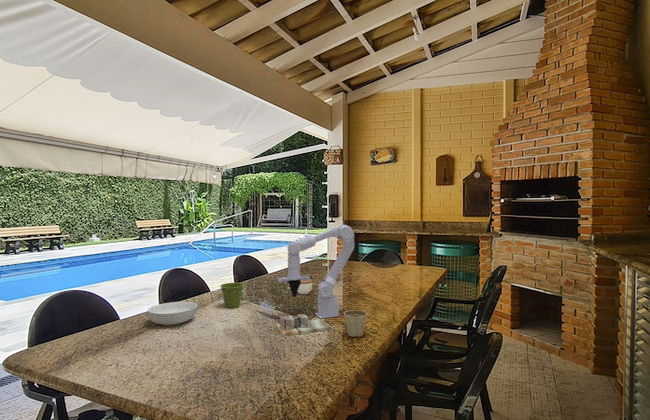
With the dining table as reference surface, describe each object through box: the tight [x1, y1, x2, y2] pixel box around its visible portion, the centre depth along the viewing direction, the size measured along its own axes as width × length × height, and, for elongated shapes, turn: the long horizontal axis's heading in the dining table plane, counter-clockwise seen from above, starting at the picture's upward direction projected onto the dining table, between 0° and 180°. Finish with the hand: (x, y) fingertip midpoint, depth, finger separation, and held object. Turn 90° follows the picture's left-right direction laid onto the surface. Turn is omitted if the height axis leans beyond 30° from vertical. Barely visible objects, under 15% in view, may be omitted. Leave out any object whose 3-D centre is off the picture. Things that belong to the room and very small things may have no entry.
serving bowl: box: [147, 301, 198, 326], centre depth 170 cm, size 21×21×7 cm
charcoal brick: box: [285, 317, 301, 327], centre depth 159 cm, size 9×3×3 cm, turn 111°
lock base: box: [276, 313, 332, 337], centre depth 160 cm, size 20×12×5 cm, turn 111°
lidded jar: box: [297, 278, 314, 295], centre depth 224 cm, size 11×11×9 cm
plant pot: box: [219, 282, 245, 309], centre depth 195 cm, size 12×12×11 cm
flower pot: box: [343, 309, 368, 338], centre depth 152 cm, size 9×9×9 cm
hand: (294, 296), depth 177 cm, fingers closed
